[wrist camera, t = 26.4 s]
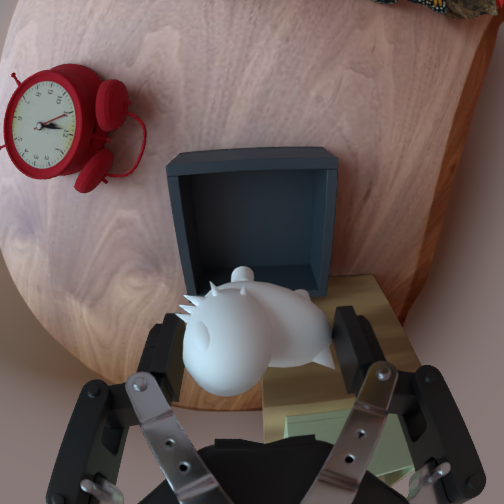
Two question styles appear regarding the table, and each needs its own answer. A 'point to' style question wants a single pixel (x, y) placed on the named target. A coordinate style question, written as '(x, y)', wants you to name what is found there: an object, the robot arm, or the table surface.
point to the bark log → (469, 8)
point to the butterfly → (435, 3)
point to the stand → (327, 379)
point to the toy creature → (251, 333)
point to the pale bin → (387, 450)
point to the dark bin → (255, 215)
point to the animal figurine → (499, 3)
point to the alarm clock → (66, 125)
